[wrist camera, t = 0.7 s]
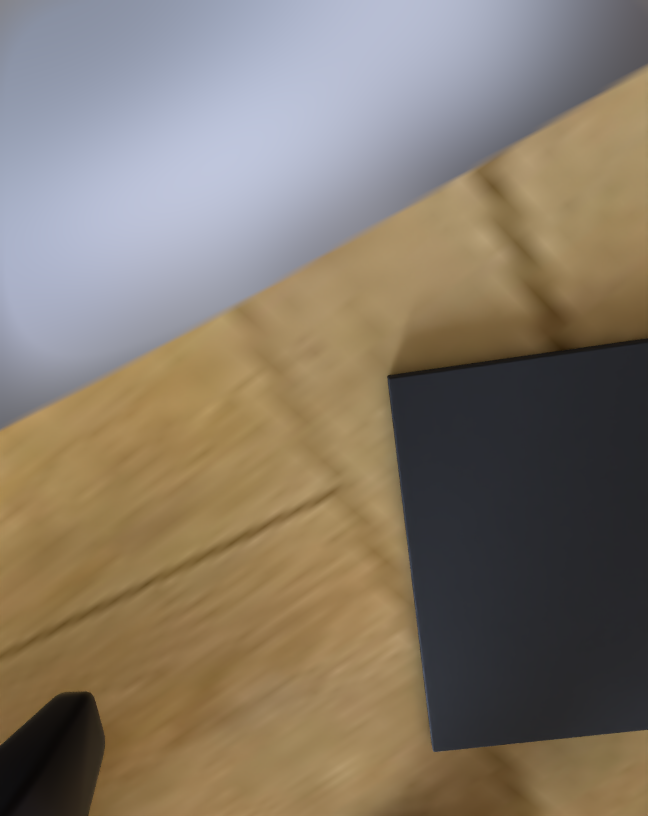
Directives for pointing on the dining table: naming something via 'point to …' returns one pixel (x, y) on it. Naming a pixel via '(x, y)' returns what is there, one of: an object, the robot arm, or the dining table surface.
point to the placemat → (529, 542)
